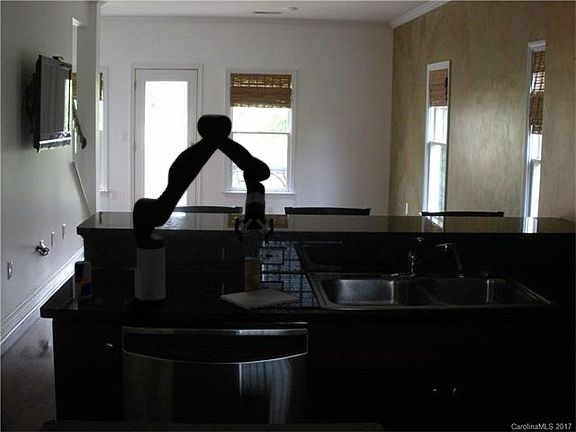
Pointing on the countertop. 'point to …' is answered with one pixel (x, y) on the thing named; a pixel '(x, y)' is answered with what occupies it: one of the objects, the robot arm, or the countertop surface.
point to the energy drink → (83, 280)
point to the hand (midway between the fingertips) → (253, 243)
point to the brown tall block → (252, 273)
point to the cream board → (259, 298)
